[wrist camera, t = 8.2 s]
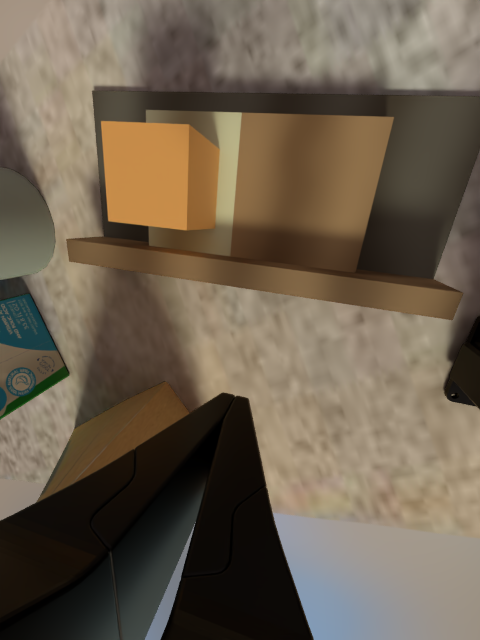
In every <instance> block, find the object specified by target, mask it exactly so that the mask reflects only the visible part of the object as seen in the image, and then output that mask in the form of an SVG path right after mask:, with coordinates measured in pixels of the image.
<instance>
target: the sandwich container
mask: <svg viewBox="0 0 480 640" xmlns="http://www.w3.org/2000/svg"><path fill="white" fill-rule="evenodd" d="M188 414H189V411H188V410H187V409H186V407H185V406H184V405H183V403H182V402H181V401H180V399H179V398H178V396H177V395H176V394H175V392H174V391H173V390H172V388H171V387H170V386H169V384H168V383H167V382H163V383H161V384H159V385H156V386H154V387H152V388H150V389H148V390H146V391H144V392H142V393H140V394H137V395H135V396H133V397H131V398H129V399H127V400H125V401H123V402H121V403H119V404H118V405H116V406H114V407H112V408H111V409H109V410H107V411H105V412H103V413H102V414H100V415H98V416H96V417H95V418H93V419H91V420H89V421H87V422H86V423H84V424H82V425H80V426H79V427H77V428H75V429H74V431H73V433H72V435H71V437H70V439H69V441H68V444H67V445H66V447H65V449H64V451H63V453H62V455H61V457H60V459H59V461H58V463H57V465H56V467H55V468H54V470H53V472H52V474H51V476H50V478H49V480H48V482H47V484H46V486H45V488H44V490H43V491H42V493H41V495H40V497H39V499H38V500H37V502H38V501H40V500H42V499H44V498H46V497H48V496H50V495H52V494H54V493H56V492H58V491H60V490H61V489H63V488H65V487H67V486H69V485H71V484H73V483H75V482H77V481H79V480H81V479H82V478H84V477H86V476H88V475H90V474H92V473H93V472H95V471H97V470H99V469H101V468H102V467H104V466H106V465H107V464H109V463H111V462H112V461H114V460H116V459H117V458H119V457H121V456H122V455H124V454H126V453H127V452H129V451H130V450H132V449H135V448H136V447H137V446H138V445H140V444H142V443H143V442H145V441H146V440H148V439H150V438H151V437H153V436H154V435H156V434H157V433H159V432H161V431H162V430H164V429H165V428H167V427H169V426H170V425H172V424H173V423H175V422H177V421H178V420H180V419H181V418H183V417H184V416H186V415H188Z"/></svg>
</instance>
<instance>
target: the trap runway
mask: <svg viewBox="0 0 480 640" xmlns="http://www.w3.org/2000/svg"><path fill="white" fill-rule="evenodd" d="M92 94H93V106H94V118H95V131H96V143H97V155H98V167H99V180H100V192H101V204H102V216H103V229H104V237H90V238H75V239H66V241H67V248H68V256H69V261H70V262H76V263H83V264H89V265H96V266H102V267H109V268H116V269H122V270H129V271H135V272H142V273H148V274H155V275H161V276H168V277H174V278H181V279H187V280H194V281H200V282H207V283H213V284H220V285H226V286H233V287H239V288H246V289H253V290H259V291H266V292H272V293H279V294H285V295H292V296H298V297H305V298H311V299H318V300H324V301H331V302H337V303H344V304H350V305H357V306H363V307H370V308H376V309H383V310H389V311H396V312H403V313H409V314H416V315H422V316H429V317H435V318H442V319H448V320H453V318H454V315H455V313H456V310H457V308H458V305H459V303H460V300H461V298H462V295H463V293H462V292H460V291H458V290H456V289H454V288H451V287H449V286H447V285H445V284H443V283H441V282H438V281H436V280H434V276H435V273H436V270H437V267H438V264H439V262H440V259H441V256H442V253H443V250H444V248H445V245H446V242H447V239H448V236H449V234H450V231H451V228H452V225H453V222H454V220H455V217H456V214H457V211H458V208H459V206H460V203H461V200H462V197H463V194H464V192H465V189H466V186H467V183H468V180H469V177H470V175H471V172H472V169H473V166H474V163H475V161H476V158H477V155H478V152H479V149H480V97H478V96H412V95H345V94H279V93H212V92H146V91H92ZM101 121H116V122H141V123H166V124H189V125H191V126H192V127H193V128H194V129H195V130H197V131H198V132H199V133H200V134H202V135H203V136H204V137H205V138H206V139H208V140H209V141H210V142H211V143H213V144H214V145H215V146H216V147H217V148H219V149H220V155H219V172H218V188H217V205H216V222H215V229H201V230H179V229H170V228H162V227H153V226H145V225H136V224H128V223H119V222H111V221H108V210H107V196H106V183H105V169H104V156H103V142H102V129H101Z"/></svg>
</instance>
